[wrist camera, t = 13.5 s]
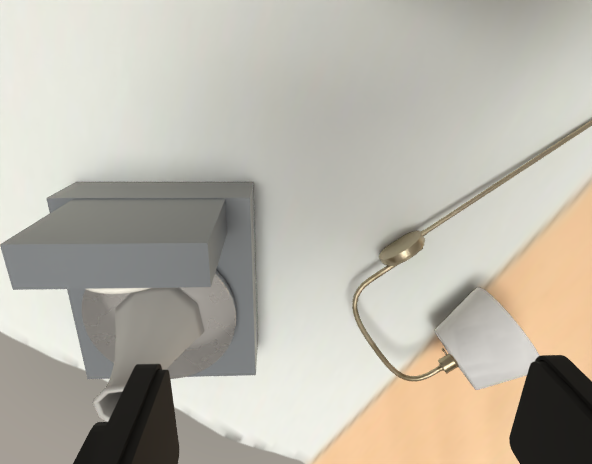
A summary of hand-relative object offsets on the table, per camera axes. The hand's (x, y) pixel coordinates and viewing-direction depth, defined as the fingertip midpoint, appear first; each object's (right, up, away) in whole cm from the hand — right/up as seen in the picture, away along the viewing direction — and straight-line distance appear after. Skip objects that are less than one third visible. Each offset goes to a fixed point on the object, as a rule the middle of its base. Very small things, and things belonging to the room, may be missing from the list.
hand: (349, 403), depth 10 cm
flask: (-13, -3, +24) cm, 28 cm away
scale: (-13, +1, +30) cm, 32 cm away
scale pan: (-13, -3, +25) cm, 29 cm away
